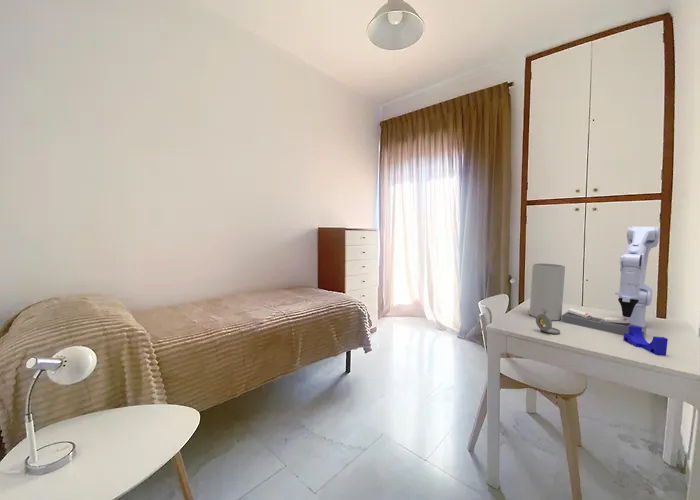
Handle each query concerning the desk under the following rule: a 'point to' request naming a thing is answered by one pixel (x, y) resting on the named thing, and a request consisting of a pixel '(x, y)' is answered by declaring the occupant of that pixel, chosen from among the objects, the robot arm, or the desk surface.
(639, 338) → the cable clip
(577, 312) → the rocker outlet
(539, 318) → the pocket watch
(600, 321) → the power strip
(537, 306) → the cylinder vase
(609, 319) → the rocker outlet
